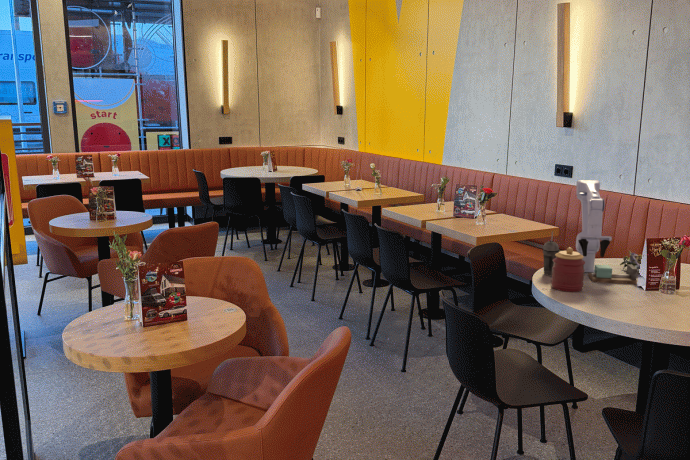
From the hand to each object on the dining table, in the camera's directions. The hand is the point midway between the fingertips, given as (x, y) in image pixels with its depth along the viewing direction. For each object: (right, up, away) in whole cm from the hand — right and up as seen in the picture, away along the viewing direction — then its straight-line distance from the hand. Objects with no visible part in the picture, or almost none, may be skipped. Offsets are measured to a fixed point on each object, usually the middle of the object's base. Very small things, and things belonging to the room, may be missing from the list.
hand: (593, 256), depth 264 cm
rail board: (+9, -11, +2) cm, 14 cm away
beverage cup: (-16, -9, +11) cm, 21 cm away
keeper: (+5, -9, +2) cm, 10 cm away
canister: (-15, -13, -10) cm, 22 cm away
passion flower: (+25, -8, +16) cm, 31 cm away
